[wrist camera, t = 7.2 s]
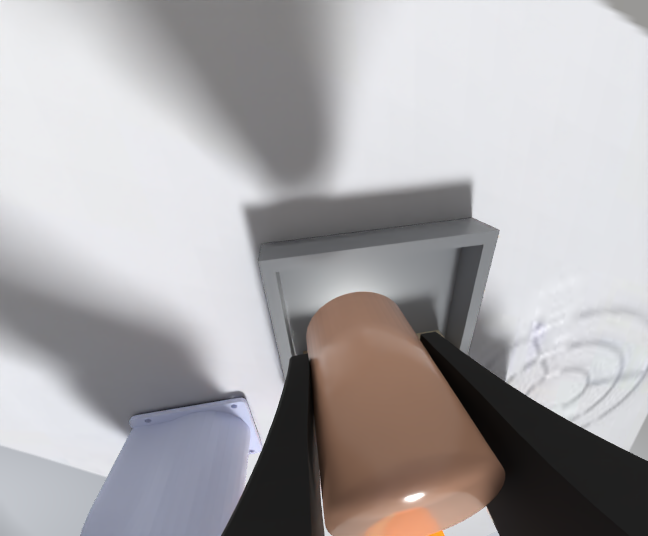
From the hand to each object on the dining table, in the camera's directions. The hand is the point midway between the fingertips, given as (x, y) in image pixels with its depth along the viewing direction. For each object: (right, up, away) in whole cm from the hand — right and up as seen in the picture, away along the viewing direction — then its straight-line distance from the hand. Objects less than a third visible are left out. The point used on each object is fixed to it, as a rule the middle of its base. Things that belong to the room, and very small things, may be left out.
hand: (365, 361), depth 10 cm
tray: (+2, 0, +10) cm, 10 cm away
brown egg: (0, +1, +1) cm, 2 cm away
